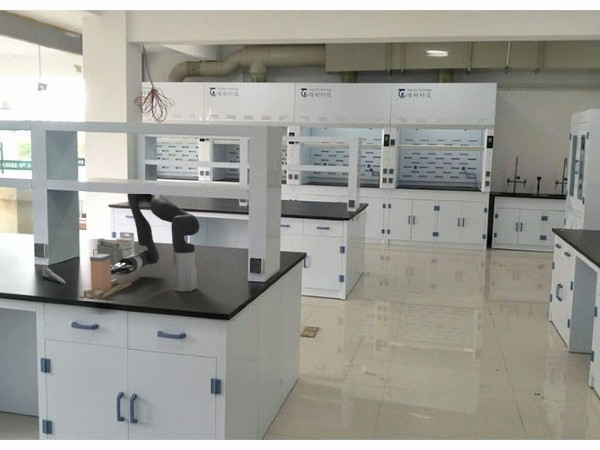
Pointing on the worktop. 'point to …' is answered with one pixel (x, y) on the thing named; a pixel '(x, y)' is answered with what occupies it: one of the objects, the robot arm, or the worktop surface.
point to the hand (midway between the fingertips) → (110, 272)
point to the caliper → (51, 274)
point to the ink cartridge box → (126, 243)
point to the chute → (102, 293)
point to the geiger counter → (109, 250)
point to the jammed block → (100, 272)
